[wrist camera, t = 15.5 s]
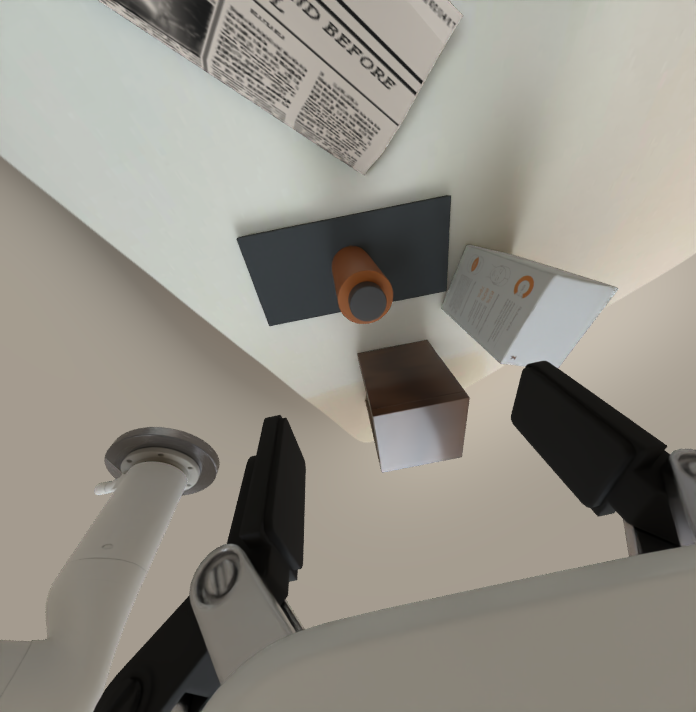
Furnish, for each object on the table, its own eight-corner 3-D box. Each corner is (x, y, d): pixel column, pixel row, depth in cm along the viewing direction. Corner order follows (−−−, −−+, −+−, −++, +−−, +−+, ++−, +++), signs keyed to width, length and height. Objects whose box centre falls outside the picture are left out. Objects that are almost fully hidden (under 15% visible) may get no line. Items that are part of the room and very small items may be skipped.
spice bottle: (335, 289, 30) (344, 335, 20) (327, 250, 27) (333, 281, 18) (373, 282, 30) (399, 325, 20) (368, 242, 27) (395, 269, 18)
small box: (481, 315, 35) (557, 372, 24) (439, 308, 33) (498, 365, 23) (513, 253, 31) (623, 287, 20) (466, 242, 29) (555, 273, 18)
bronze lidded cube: (366, 404, 41) (381, 472, 31) (357, 353, 36) (372, 416, 26) (426, 392, 41) (462, 457, 31) (427, 339, 36) (470, 397, 26)
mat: (270, 322, 32) (269, 326, 31) (238, 236, 27) (236, 238, 26) (443, 288, 32) (446, 291, 31) (447, 195, 27) (451, 195, 26)
